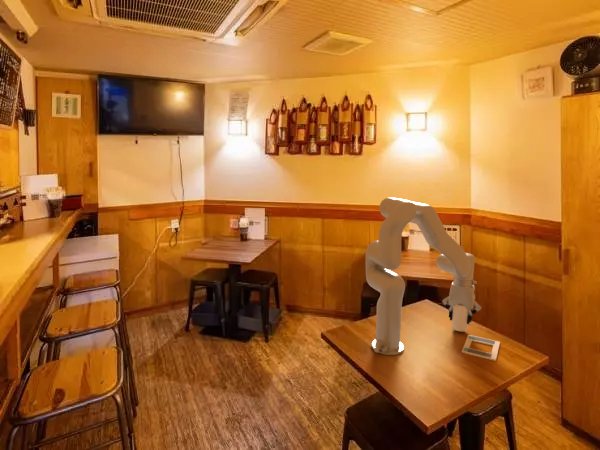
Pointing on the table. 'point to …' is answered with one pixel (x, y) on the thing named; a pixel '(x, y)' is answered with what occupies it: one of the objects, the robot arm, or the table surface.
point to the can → (459, 318)
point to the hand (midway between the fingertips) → (459, 320)
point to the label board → (481, 354)
